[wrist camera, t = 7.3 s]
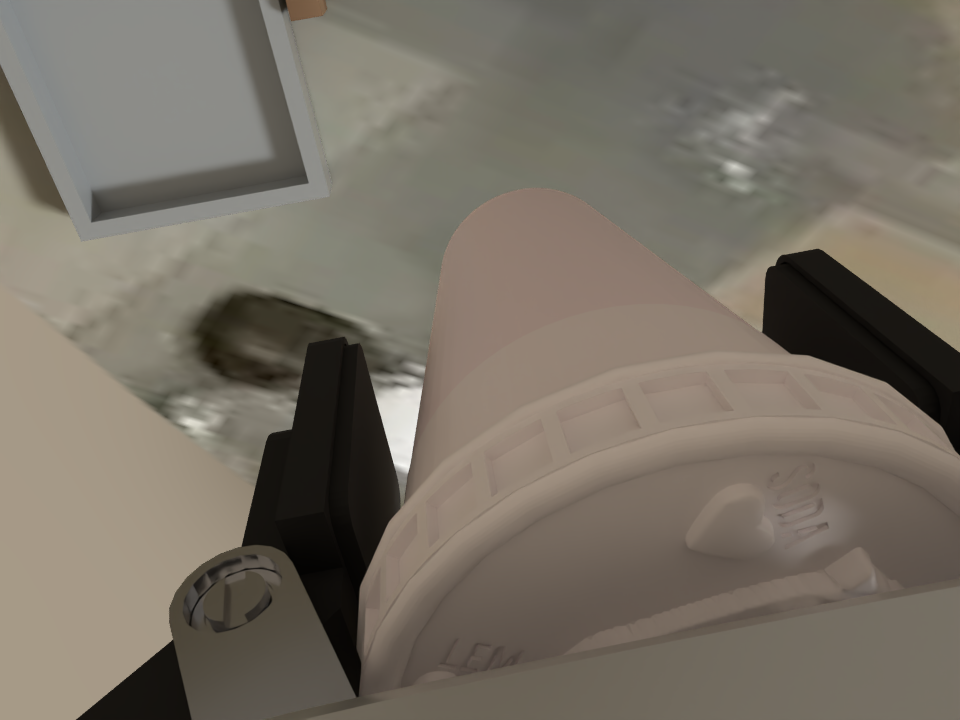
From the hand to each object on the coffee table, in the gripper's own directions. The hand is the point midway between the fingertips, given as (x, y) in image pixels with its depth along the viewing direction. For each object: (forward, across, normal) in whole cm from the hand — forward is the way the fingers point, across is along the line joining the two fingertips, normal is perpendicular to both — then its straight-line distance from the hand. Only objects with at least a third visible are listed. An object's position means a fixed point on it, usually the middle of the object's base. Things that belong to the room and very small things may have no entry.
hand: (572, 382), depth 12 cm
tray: (+18, +10, -3) cm, 21 cm away
